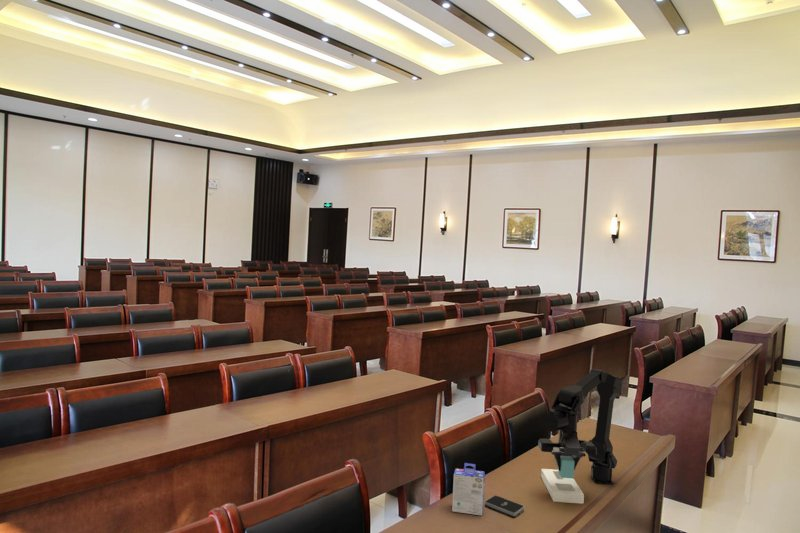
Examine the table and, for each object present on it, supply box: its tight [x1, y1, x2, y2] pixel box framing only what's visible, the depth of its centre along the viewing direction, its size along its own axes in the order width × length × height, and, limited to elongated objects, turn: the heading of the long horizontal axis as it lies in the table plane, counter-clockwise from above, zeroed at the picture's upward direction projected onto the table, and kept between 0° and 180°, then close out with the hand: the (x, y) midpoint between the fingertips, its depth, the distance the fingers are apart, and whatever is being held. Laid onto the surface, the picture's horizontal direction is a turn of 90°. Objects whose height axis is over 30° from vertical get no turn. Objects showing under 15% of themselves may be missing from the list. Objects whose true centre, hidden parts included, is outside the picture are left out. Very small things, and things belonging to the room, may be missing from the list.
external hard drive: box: [484, 494, 525, 519], centre depth 166 cm, size 7×11×2 cm, turn 49°
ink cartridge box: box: [451, 462, 486, 516], centre depth 164 cm, size 10×6×14 cm, turn 78°
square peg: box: [557, 456, 575, 478], centre depth 177 cm, size 4×4×6 cm
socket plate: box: [540, 468, 585, 505], centre depth 182 cm, size 10×20×3 cm, turn 176°
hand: (566, 471), depth 177 cm, fingers closed on square peg, 4 cm apart
